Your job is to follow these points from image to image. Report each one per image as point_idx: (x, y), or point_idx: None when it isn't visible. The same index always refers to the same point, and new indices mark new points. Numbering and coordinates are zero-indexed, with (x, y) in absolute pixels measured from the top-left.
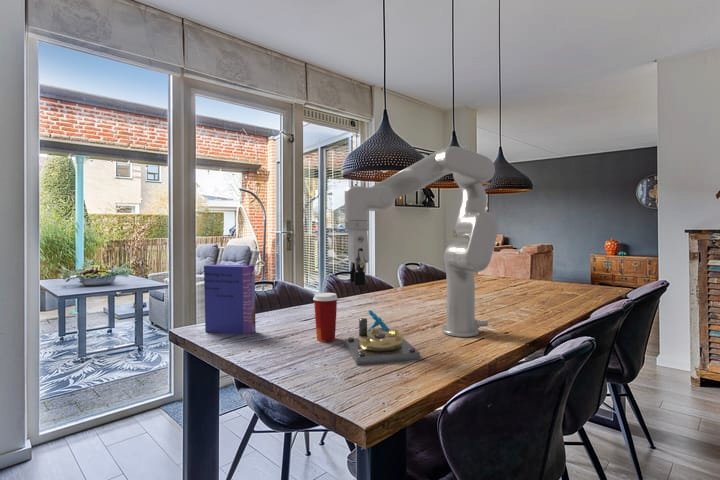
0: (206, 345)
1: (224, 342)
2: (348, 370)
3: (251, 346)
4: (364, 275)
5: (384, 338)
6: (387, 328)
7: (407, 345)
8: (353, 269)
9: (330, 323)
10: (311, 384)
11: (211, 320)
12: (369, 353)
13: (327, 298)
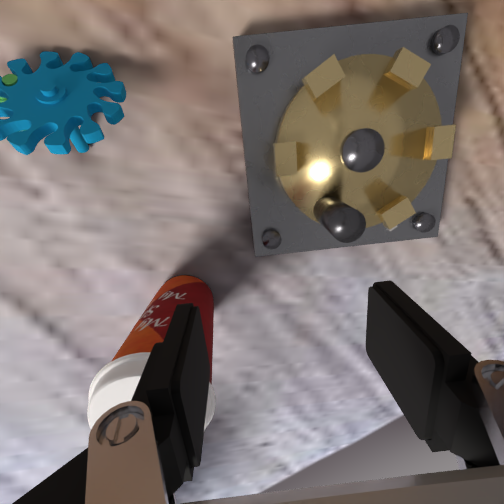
0: None
1: (193, 493)
2: (454, 253)
3: (230, 447)
4: (441, 332)
5: (432, 145)
6: (82, 63)
7: (378, 40)
8: (182, 460)
9: (208, 318)
10: (498, 325)
11: None
12: (418, 197)
13: (207, 404)
